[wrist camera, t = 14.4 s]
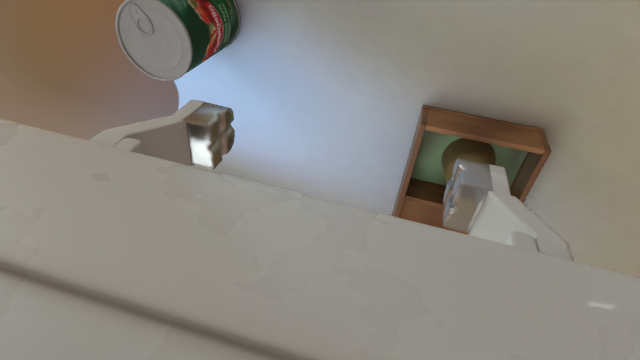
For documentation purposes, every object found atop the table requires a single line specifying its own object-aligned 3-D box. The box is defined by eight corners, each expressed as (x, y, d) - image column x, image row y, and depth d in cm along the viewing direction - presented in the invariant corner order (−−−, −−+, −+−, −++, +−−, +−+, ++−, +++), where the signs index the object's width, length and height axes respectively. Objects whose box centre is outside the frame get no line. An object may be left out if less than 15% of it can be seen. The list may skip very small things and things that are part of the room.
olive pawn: (503, 170, 46) (515, 234, 37) (452, 186, 49) (453, 247, 40) (485, 129, 43) (493, 186, 35) (433, 147, 46) (429, 205, 38)
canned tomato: (252, 33, 45) (206, 66, 36) (203, 57, 48) (150, 92, 40) (216, -37, 41) (155, -20, 33) (165, -6, 45) (99, 17, 36)
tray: (542, 128, 42) (551, 151, 39) (479, 251, 55) (481, 277, 51) (422, 104, 44) (420, 124, 41) (388, 228, 57) (384, 252, 53)
